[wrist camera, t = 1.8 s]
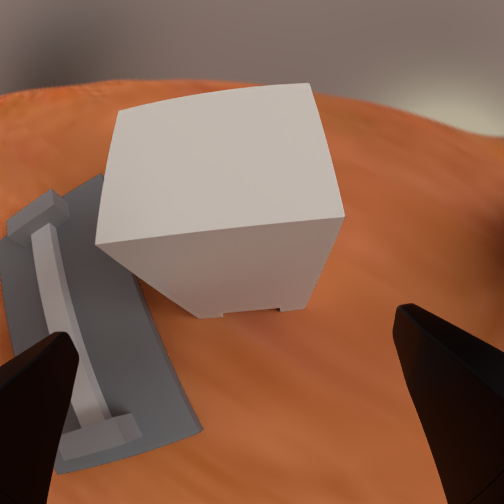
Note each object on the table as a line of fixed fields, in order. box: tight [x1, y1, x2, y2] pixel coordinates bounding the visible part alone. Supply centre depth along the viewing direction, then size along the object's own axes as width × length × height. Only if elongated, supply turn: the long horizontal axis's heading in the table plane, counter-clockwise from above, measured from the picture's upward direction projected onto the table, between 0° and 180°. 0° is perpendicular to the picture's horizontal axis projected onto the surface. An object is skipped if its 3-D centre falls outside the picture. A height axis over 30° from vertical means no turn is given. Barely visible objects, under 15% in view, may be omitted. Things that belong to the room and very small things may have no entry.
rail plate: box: [0, 174, 204, 475], centre depth 18 cm, size 20×12×3 cm, turn 27°
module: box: [95, 83, 345, 319], centre depth 15 cm, size 6×6×12 cm
